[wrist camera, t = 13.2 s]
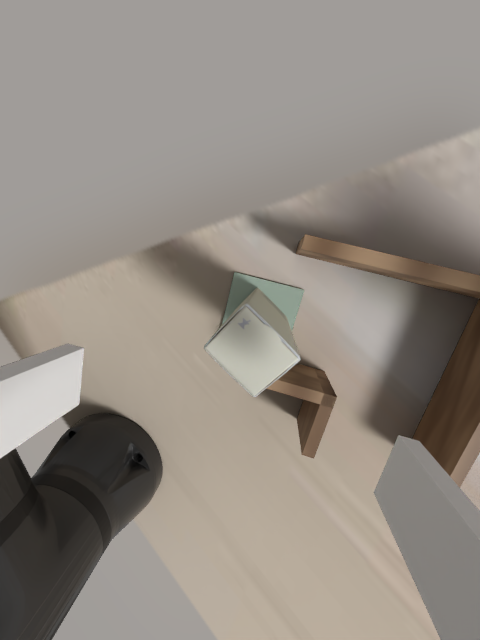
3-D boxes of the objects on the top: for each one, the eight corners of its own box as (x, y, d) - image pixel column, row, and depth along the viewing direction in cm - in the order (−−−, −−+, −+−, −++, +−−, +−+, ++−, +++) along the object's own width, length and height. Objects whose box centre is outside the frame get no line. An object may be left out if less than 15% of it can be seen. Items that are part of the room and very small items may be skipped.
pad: (219, 337, 29) (218, 337, 29) (234, 272, 28) (234, 272, 27) (283, 355, 29) (283, 356, 28) (303, 289, 27) (304, 290, 27)
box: (231, 312, 28) (196, 345, 16) (258, 285, 27) (243, 298, 15) (263, 344, 28) (253, 402, 16) (291, 319, 27) (304, 359, 15)
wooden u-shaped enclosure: (251, 405, 31) (246, 436, 25) (298, 242, 26) (305, 234, 20) (415, 455, 29) (451, 502, 23) (497, 290, 24) (567, 296, 18)
